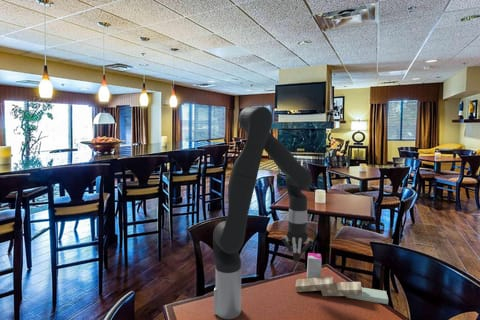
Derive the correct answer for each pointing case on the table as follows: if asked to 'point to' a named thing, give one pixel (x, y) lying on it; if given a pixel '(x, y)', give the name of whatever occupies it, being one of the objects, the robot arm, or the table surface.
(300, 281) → the tan flat rectangular block
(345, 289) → the tile
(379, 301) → the tile
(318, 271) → the supplement box
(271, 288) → the table surface
